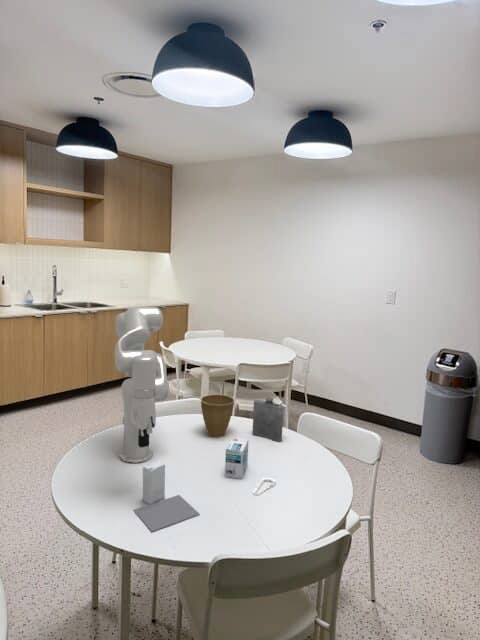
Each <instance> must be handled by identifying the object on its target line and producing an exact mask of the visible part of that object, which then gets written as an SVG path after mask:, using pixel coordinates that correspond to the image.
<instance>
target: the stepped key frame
mask: <svg viewBox="0 0 480 640" xmlns="http://www.w3.org/2000/svg"><path fill="white" fill-rule="evenodd" d="M264 483H271V485H270V484H269V485H268V487H265V488H264V489H262V491H260V492H259V493H258V494H257V492H258V491H259V490H260V489H261V486H263V484H264ZM276 483H277V482H276V480H275V479H274V478H272V477H270V476H269V477H261V479H260V481H259V482H258V483H257V485H256V486H255V488H254V490H253V491H252V494H253V495H254V496H261V495H262V494H263V493H266V492H267V491H269V490H270V488H271V489H272V488H274V487H275V485H276Z"/></svg>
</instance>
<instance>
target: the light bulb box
mask: <svg viewBox="0 0 480 640" xmlns="http://www.w3.org/2000/svg"><path fill="white" fill-rule="evenodd" d="M224 461H225V463H224V464H225V466H224V477H227V478H234V479H240V480H242V479H243V478H244V476H245V474H246V471H247V469H248V461H249V440H248V439H243V438H242V439H241V438H236V437H235V438H234V437H232V438H231V439H230V440H229V442H228V444H227V447H226V448H225V460H224Z"/></svg>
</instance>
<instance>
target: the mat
mask: <svg viewBox="0 0 480 640" xmlns="http://www.w3.org/2000/svg"><path fill="white" fill-rule="evenodd" d="M134 511H135V512H134ZM133 512H134V513H135V514H136V516H137V515H138V516H139V517H140V518H139V517H138V516H137V517H138V518H139V519H140V520H141V522H142V523H143V524H144V525H145V527H146V528H148V530H149V531H150V532H151V533H154V532H157V531H160V530H162V529H165V528H168V527H172V526H174V525H176V524H180V523H182V522H185V521H187V520H190V519H192V518H195V517H198V516H200V513H199V512H198V511H197V510H196V509H195V508H194V507H193V506H192V505H191V504H190V503H188V501H186V499H184V498H183V497H182V496H181V495H180V494H176V495H175V496H171V497H167V498H165V499H161V500H159V501H157V502H155V503H153V504H147V505H144V506H141V507H138V508H135V509H133Z"/></svg>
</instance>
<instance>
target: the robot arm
mask: <svg viewBox="0 0 480 640" xmlns="http://www.w3.org/2000/svg"><path fill="white" fill-rule="evenodd" d="M163 323H164V315H163V313H162V311H161V309H160V308H159V307H158V306H157V307H156V306H134V307H130V308H127V310H126V311H124V312H120V313H118V314H117V315H116V317H115V329H116V334H117V337H118V340H117V342H116V344H115V348H114V362H115V368H116V370H117V371H118V372H119V373H122V374H125V375H126V376H127V377H129V378H127V379H124V381H122V384H121V397H122V403H123V405H122V406H123V450H121V451H120V453H119V458H120V457H121V459H123V460H125V461H127V462H126V463H128V462H132V463H131V464H139V462H140V463H145V462H147V461H149V460H151V458H153V455H154V451H153V450H152V449H151V448H150V436H151V435H150V434H153V429H154V428H155V427H156V421H157V420H156V415H157V413H156V402H160V401H161V402H162V401H165V400H166V399H167V397H168V396H169V385H168V377H167V369H166V362H165V361H166V360H165V358H164V356H163V355H162V354H161V353H159V352H156V351H154V350H153V349H152V350H151V349H147V350H146V349H145V344H146V343H147V342H149V339H150V337H151V333H155V332H157V331H159V330H160V329H161V327H162V326H163ZM121 459H120V460H121ZM123 460H122V461H123ZM125 461H124V462H125Z"/></svg>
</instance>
